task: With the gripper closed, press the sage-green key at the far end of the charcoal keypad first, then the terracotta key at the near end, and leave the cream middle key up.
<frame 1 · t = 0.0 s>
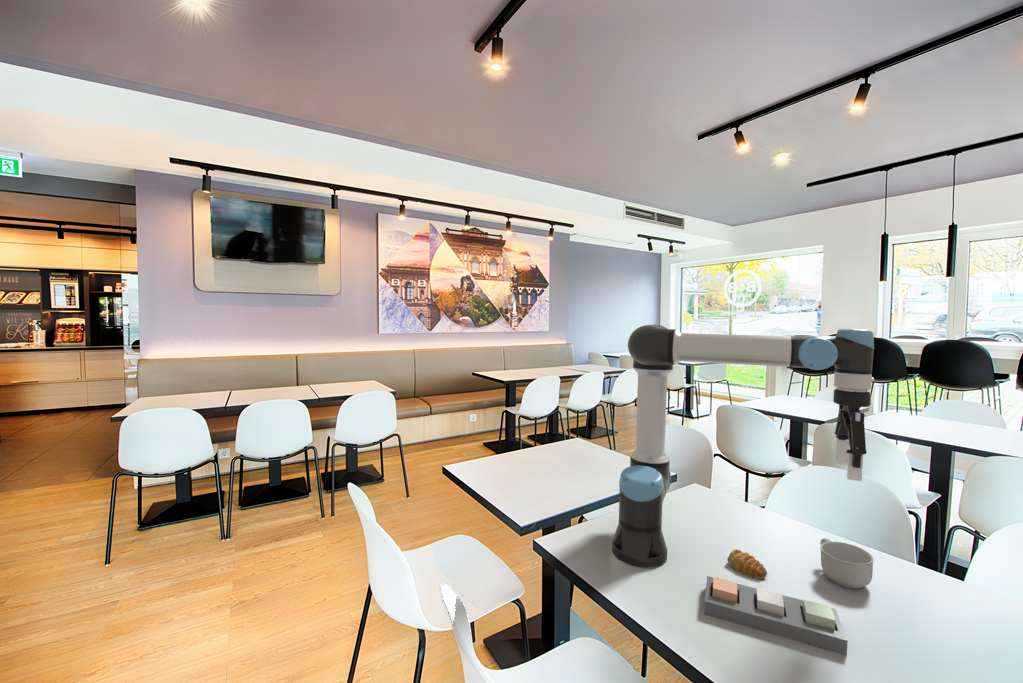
hand: (847, 471, 113), 28 cm above the table, tool pointing down, fingers open, 13 cm apart
terracotta key: (724, 590, 102), point 4 cm above the table, slide at 0.0 cm
teacup: (841, 578, 114), on the table
keypad: (769, 617, 98), on the table
pastry: (746, 569, 117), on the table
sage key: (818, 615, 93), point 4 cm above the table, slide at 0.0 cm
cream key: (769, 602, 98), point 4 cm above the table, slide at 0.0 cm
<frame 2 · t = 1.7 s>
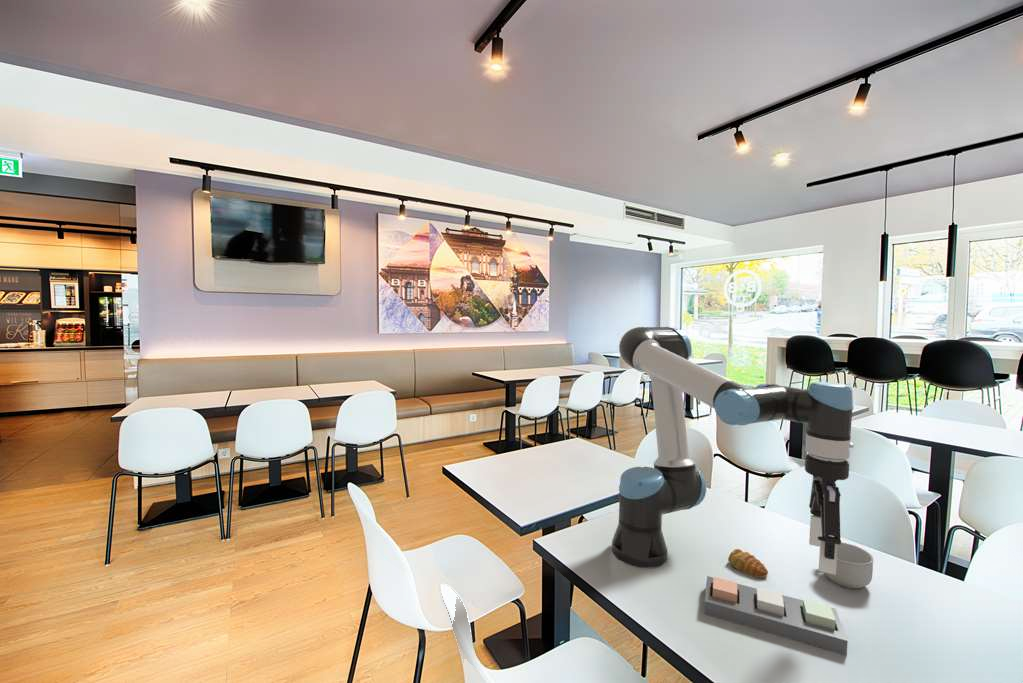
hand: (821, 558, 93), 16 cm above the table, tool pointing down, fingers open, 11 cm apart
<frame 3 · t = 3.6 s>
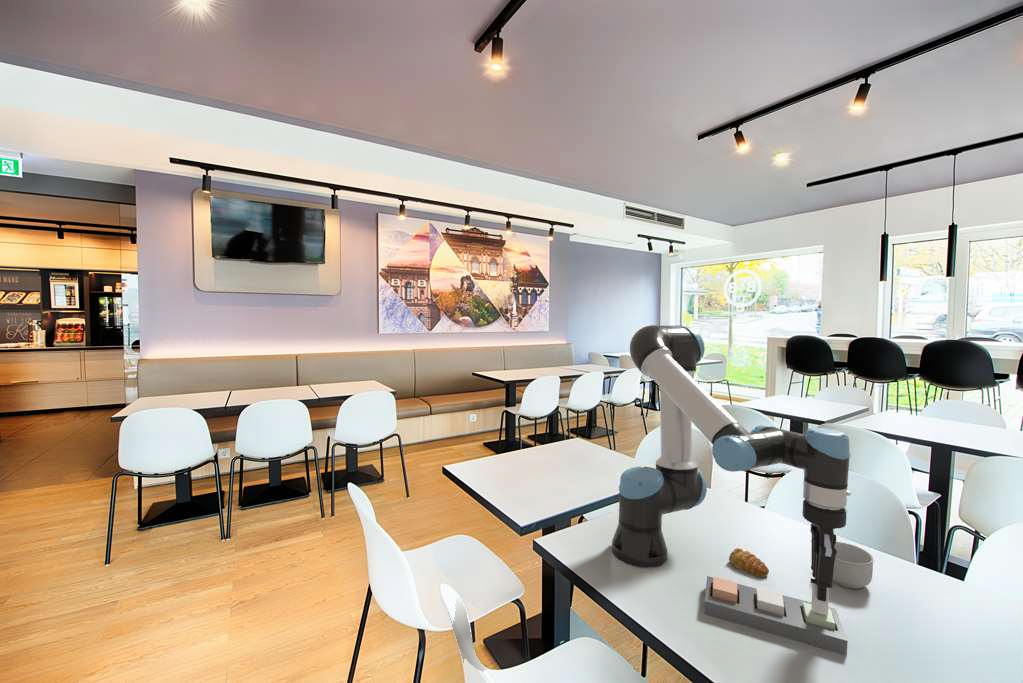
hand: (819, 611, 93), 4 cm above the table, tool pointing down, fingers closed
sage key: (818, 618, 93), point 3 cm above the table, slide at 0.6 cm, touching gripper
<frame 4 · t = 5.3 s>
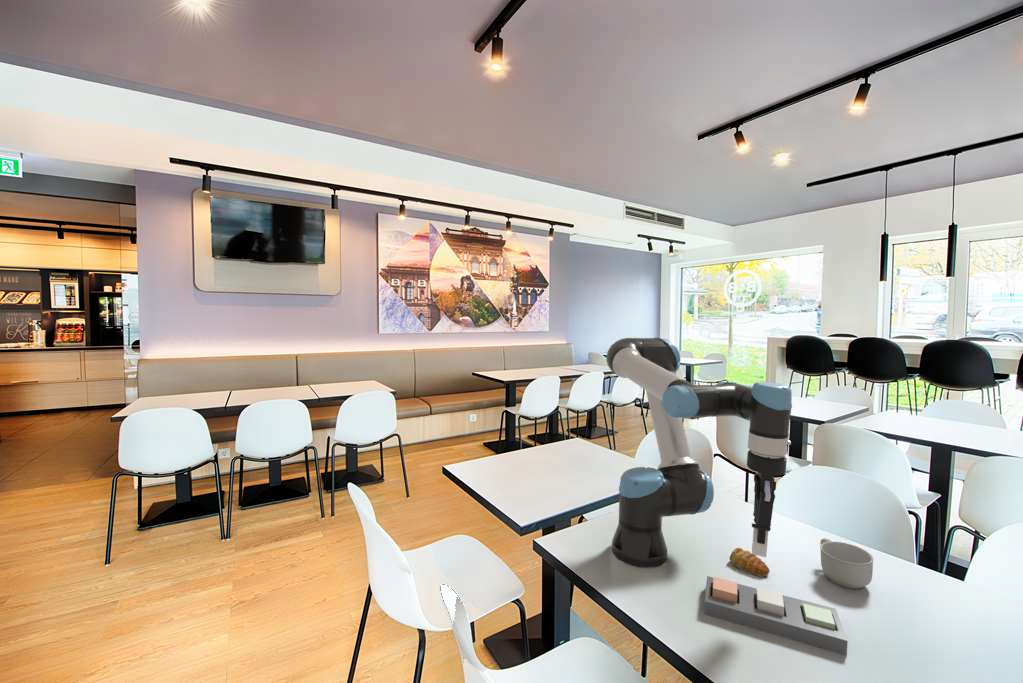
hand: (758, 554, 99), 13 cm above the table, tool pointing down, fingers closed
sage key: (818, 619, 94), point 3 cm above the table, slide at 0.9 cm
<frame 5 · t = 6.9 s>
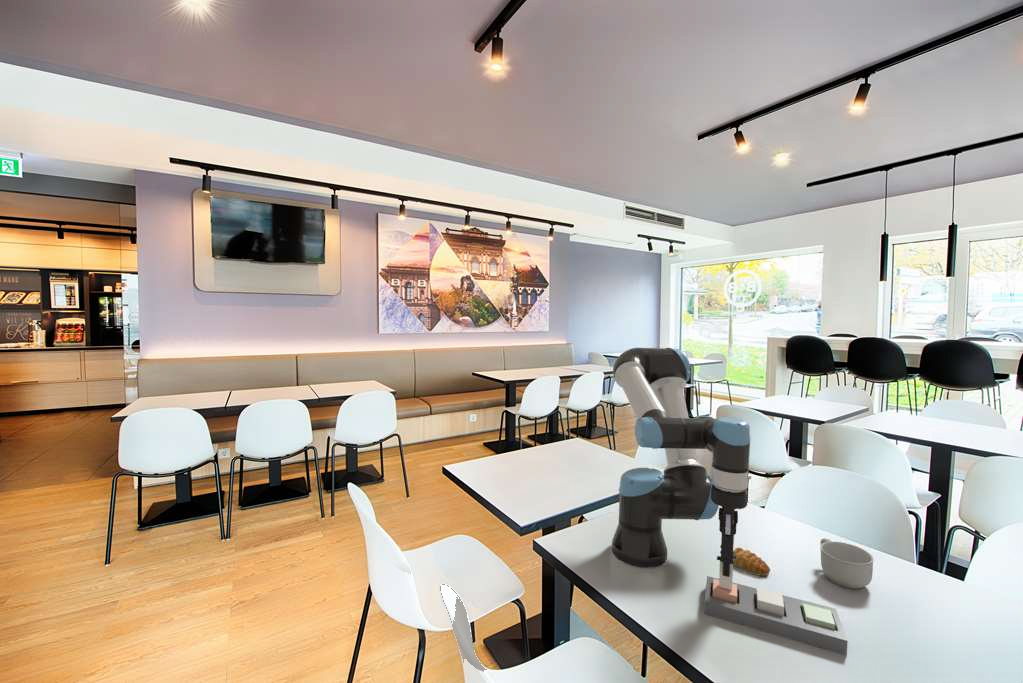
hand: (725, 586, 101), 5 cm above the table, tool pointing down, fingers closed
terracotta key: (724, 592, 102), point 3 cm above the table, slide at 0.5 cm, touching gripper
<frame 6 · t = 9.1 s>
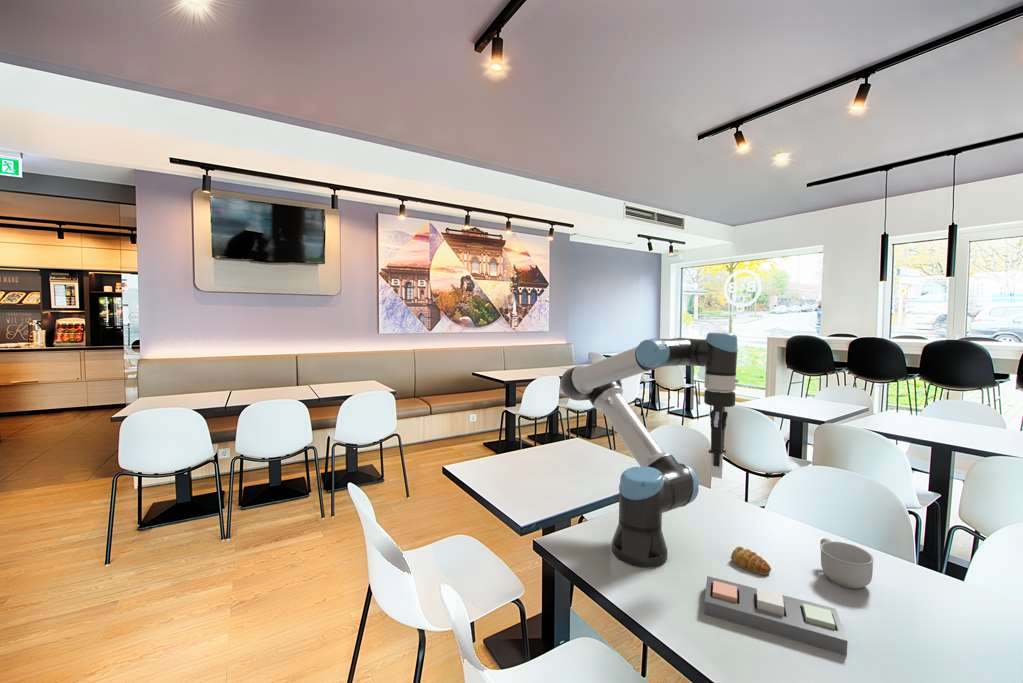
hand: (716, 476, 118), 24 cm above the table, tool pointing down, fingers closed
terracotta key: (724, 594, 102), point 3 cm above the table, slide at 0.9 cm
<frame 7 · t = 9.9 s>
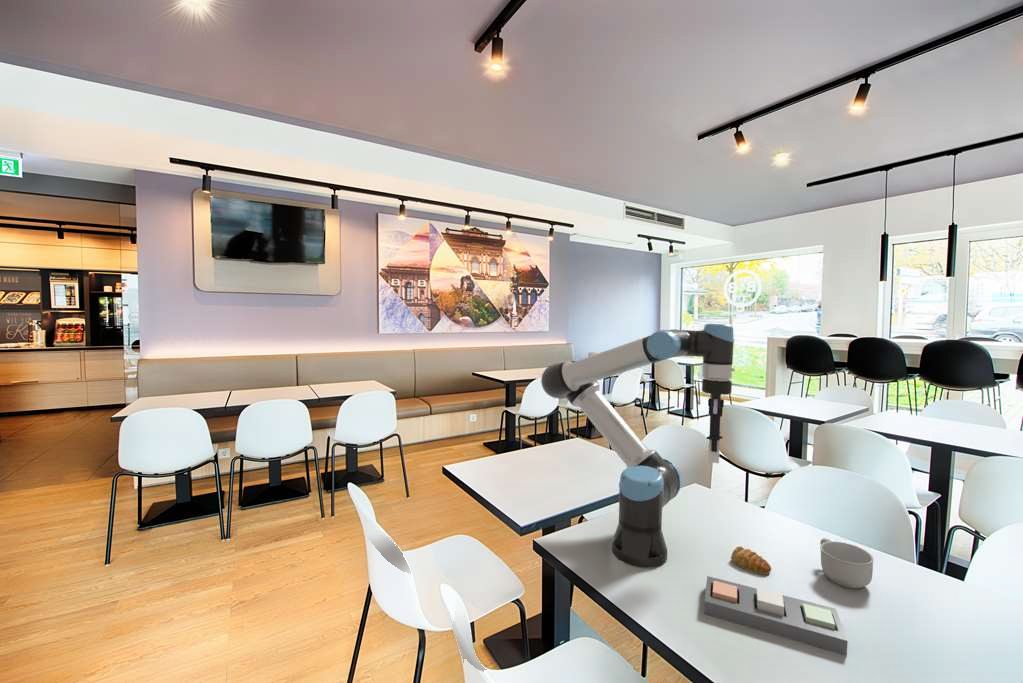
hand: (713, 461, 124), 26 cm above the table, tool pointing down, fingers closed
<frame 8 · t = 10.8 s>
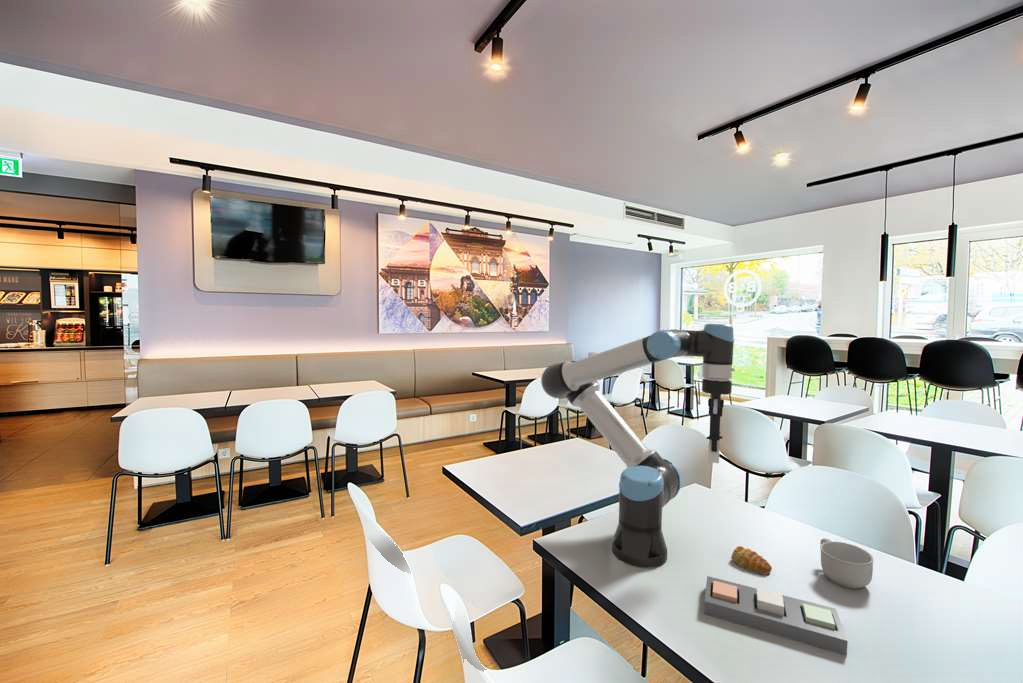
hand: (713, 461, 124), 26 cm above the table, tool pointing down, fingers closed
at the end: sage key slide at 0.9 cm; terracotta key slide at 0.9 cm; cream key slide at 0.0 cm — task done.
